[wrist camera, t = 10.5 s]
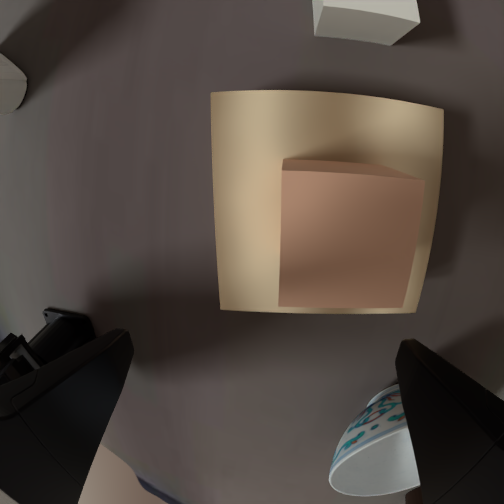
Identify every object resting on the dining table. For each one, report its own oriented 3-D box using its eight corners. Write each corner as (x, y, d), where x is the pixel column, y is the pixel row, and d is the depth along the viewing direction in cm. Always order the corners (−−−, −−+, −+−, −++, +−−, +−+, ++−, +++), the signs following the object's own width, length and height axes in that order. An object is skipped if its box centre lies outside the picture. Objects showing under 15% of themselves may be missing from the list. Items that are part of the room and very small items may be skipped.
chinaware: (340, 452, 29) (343, 505, 22) (308, 380, 24) (309, 453, 17) (455, 414, 25) (473, 462, 18) (464, 324, 21) (503, 383, 14)
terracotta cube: (281, 255, 16) (278, 306, 11) (283, 159, 14) (281, 170, 9) (372, 258, 15) (402, 307, 11) (382, 165, 13) (425, 180, 9)
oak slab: (231, 279, 21) (220, 309, 17) (226, 101, 17) (210, 92, 13) (396, 282, 20) (415, 312, 16) (414, 112, 15) (443, 109, 12)
